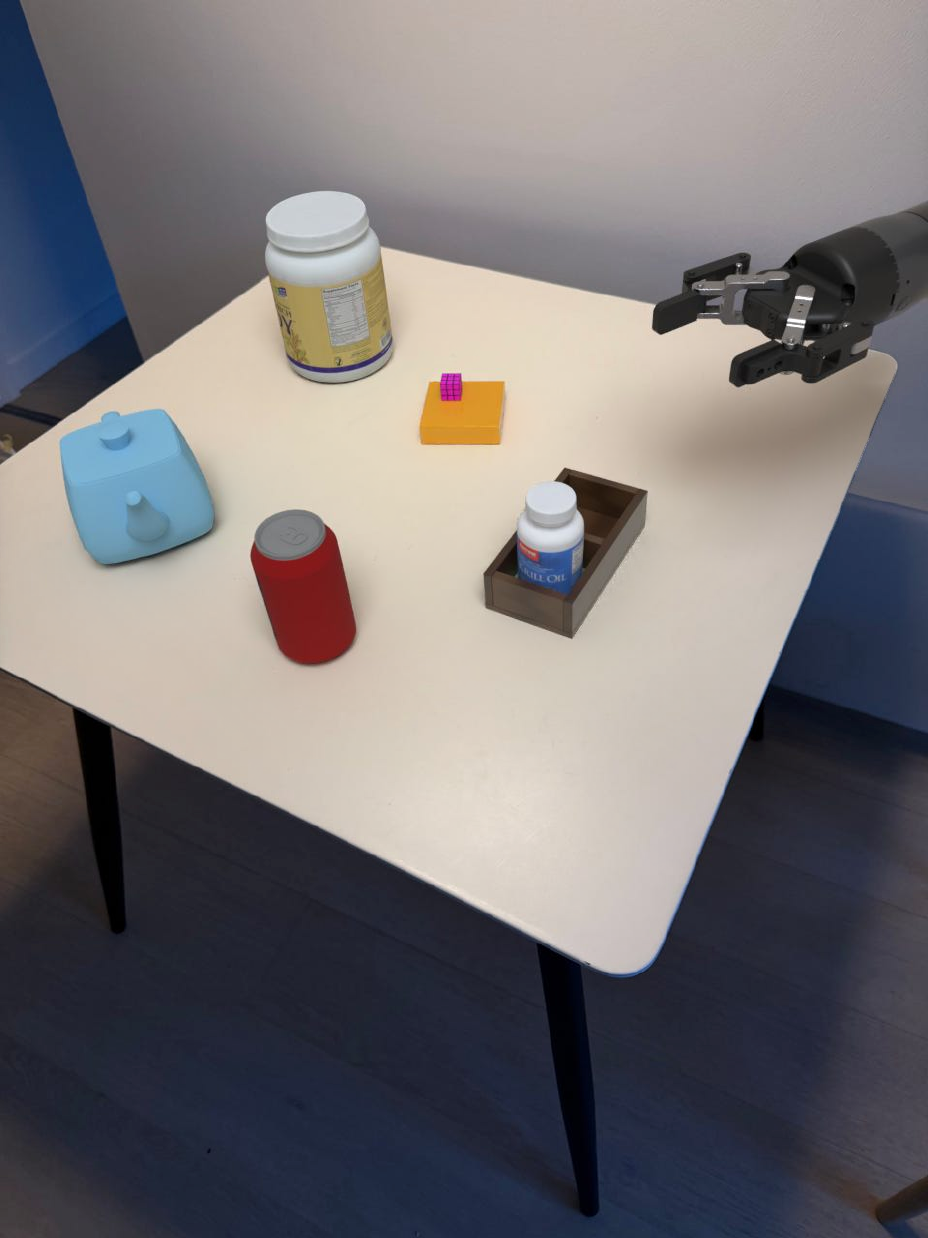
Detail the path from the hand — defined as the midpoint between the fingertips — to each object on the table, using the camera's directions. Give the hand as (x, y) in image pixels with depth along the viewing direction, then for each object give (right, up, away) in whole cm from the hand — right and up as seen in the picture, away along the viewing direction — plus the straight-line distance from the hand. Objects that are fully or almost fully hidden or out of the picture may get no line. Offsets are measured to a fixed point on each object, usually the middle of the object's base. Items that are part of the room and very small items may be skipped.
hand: (693, 346), depth 70 cm
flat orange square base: (-16, +1, +33) cm, 37 cm away
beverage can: (-28, -21, +13) cm, 38 cm away
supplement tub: (-30, +10, +43) cm, 54 cm away
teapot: (-46, -12, +24) cm, 53 cm away
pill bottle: (-9, -17, +14) cm, 24 cm away
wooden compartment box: (-7, -15, +17) cm, 23 cm away
